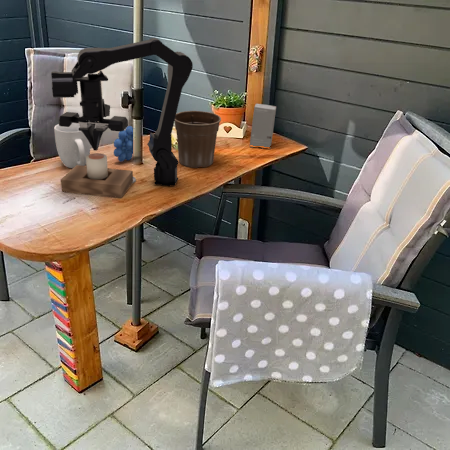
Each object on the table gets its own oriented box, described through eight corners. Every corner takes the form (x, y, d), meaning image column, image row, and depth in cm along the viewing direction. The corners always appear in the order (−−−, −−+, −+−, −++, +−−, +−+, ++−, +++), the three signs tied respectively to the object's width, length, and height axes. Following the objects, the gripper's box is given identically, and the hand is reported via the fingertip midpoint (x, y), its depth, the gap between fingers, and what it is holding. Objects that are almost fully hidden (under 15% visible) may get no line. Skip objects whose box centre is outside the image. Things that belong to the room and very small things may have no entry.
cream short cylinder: (110, 172, 149) (109, 153, 147) (104, 180, 144) (102, 160, 141) (91, 171, 150) (90, 151, 147) (84, 178, 145) (82, 158, 142)
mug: (101, 171, 160) (98, 132, 154) (67, 177, 154) (63, 137, 148) (85, 157, 171) (82, 120, 165) (53, 162, 165) (49, 124, 159)
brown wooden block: (133, 182, 153) (132, 170, 152) (121, 198, 143) (120, 185, 141) (77, 177, 155) (76, 165, 153) (61, 192, 144) (60, 179, 142)
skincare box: (249, 147, 190) (252, 107, 182) (251, 142, 196) (254, 102, 188) (271, 150, 189) (275, 109, 181) (272, 144, 195) (276, 104, 187)
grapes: (132, 153, 177) (131, 120, 171) (145, 158, 173) (144, 125, 167) (106, 161, 169) (104, 127, 163) (119, 166, 165) (117, 131, 159)
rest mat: (138, 177, 157) (138, 176, 157) (132, 185, 151) (132, 184, 151) (117, 175, 158) (117, 174, 158) (110, 183, 152) (110, 182, 152)
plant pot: (209, 173, 163) (211, 126, 156) (165, 166, 168) (165, 119, 160) (224, 158, 177) (227, 114, 170) (183, 151, 181) (184, 108, 174)
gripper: (132, 93, 143) (134, 144, 150) (71, 88, 144) (76, 139, 152) (120, 102, 133) (123, 156, 140) (54, 96, 134) (60, 150, 142)
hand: (95, 150), depth 144 cm, fingers closed
